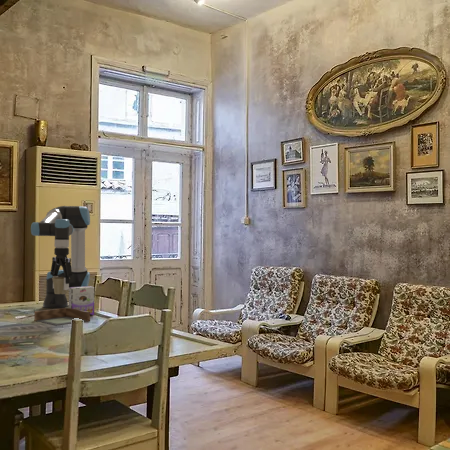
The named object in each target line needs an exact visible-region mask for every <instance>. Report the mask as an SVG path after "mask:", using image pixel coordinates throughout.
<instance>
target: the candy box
mask: <svg viewBox="0 0 450 450" xmlns="http://www.w3.org/2000/svg"><path fill="white" fill-rule="evenodd" d="M95 289H96V288H95V287H94V286H91V285H90V286H89V285H88V287H69V290H68V308H72V309H77V310H82V311H88V312H90V316H94V315H95V293H96V292H95Z"/></svg>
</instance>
